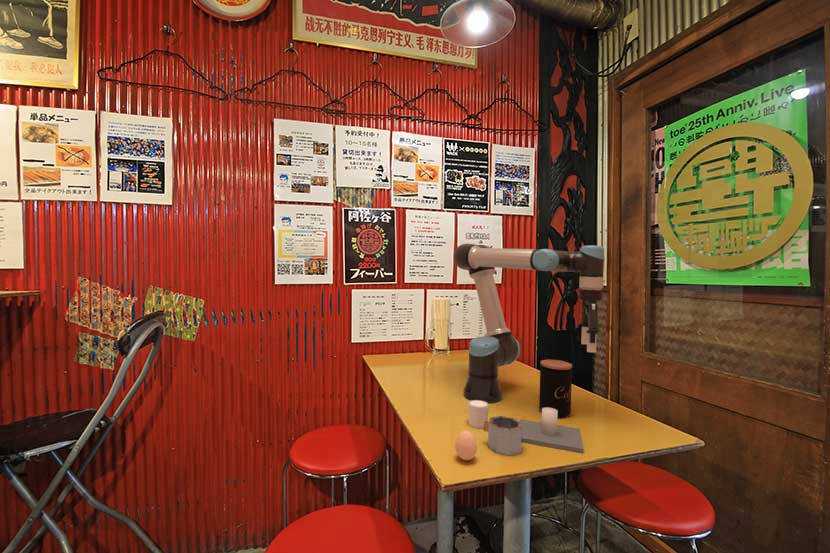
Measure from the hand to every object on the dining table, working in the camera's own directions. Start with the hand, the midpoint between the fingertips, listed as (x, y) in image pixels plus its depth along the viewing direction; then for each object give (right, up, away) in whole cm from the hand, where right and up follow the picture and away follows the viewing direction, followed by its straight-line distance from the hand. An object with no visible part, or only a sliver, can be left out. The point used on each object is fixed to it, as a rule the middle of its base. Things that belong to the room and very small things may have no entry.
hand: (588, 348), depth 127 cm
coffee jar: (-12, -24, +1) cm, 27 cm away
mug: (-36, -24, -25) cm, 50 cm away
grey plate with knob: (-21, -24, -18) cm, 36 cm away
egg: (-48, -24, -32) cm, 63 cm away
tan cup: (-41, -23, -10) cm, 49 cm away
